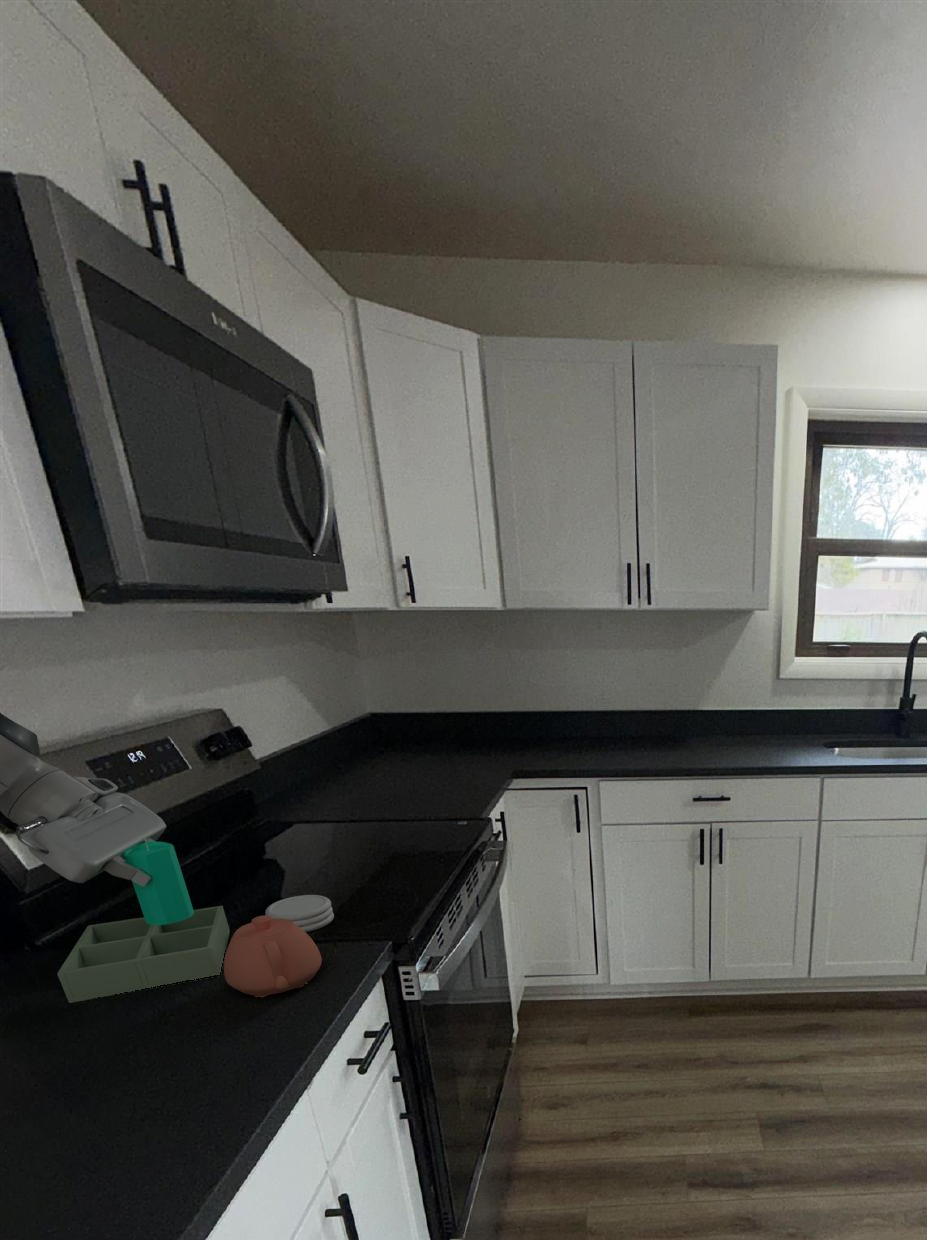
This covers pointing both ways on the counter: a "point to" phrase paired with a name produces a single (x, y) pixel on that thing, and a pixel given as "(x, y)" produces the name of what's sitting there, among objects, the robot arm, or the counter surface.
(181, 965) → the grid
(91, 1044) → the counter surface
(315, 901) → the grey round flat stack
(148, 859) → the candle
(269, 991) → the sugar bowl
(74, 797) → the robot arm
